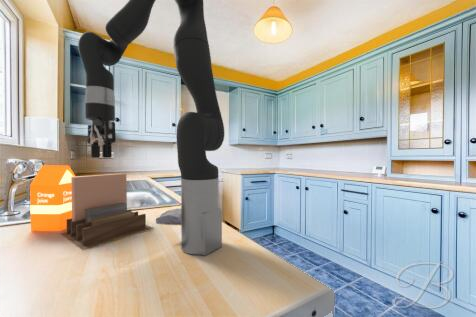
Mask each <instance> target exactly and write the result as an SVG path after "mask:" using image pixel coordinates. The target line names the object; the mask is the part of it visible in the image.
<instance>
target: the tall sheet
mask: <svg viewBox="0 0 476 317" xmlns="http://www.w3.org/2000/svg"><path fill="white" fill-rule="evenodd" d="M75 176H76V175H75ZM127 187H128V186H127V173H123V172H122V173H109V174H93V175H80V176H79V175H78V176H76V177H71V190H72V222H73V221H77V220H82V219H85V209H89V208H94V207H100V206H105V205H111V204H117V203H126V204H127V203H128V202H127V201H128V199H127V193H128V192H127V190H128V189H127ZM127 205H128V204H127Z"/></svg>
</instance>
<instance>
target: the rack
mask: <svg viewBox="0 0 476 317" xmlns="http://www.w3.org/2000/svg"><path fill="white" fill-rule="evenodd" d="M127 211H131V212H132V209H127ZM133 212H134V216H133V217H129V218H125V219H120V220H116V221H112V222H108V223H104V224H100V225H95V226H91V222H88V223H85V219H82V220H77V221H73V222H72V218H71V219H66V227H67V228H66V231H63V232H60V233H59V234H60V235H62V236H64V238H66V239H67V240H68V241H70V243H72V244H74V245H75V246H76V247H78V248H79V249H80V250H82V251H85V250H88V249H92V248H95V247H99V246H102V245H106V244H108V243H112V242H114V241H118V240H120V239H121V240H122V239H124V238H127V237H131V236H134V235H137V234H140V233H144V232H146V231H150V230H153V229H155V227H153V226H149V225H147V224H146V223H147V220H146V218H147V217H146V213H142V214H139V211H133Z"/></svg>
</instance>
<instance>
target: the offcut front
mask: <svg viewBox="0 0 476 317" xmlns="http://www.w3.org/2000/svg"><path fill="white" fill-rule="evenodd" d="M134 212H135V211H132V210H131V211H126V212H122V213H117V214H112V215H108V216H103V217H98V218H94V219H91V226H95V225H100V224H104V223H108V222H112V221H116V220H120V219H125V218H129V217H133V216H134Z"/></svg>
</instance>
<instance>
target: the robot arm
mask: <svg viewBox="0 0 476 317" xmlns="http://www.w3.org/2000/svg"><path fill="white" fill-rule="evenodd" d="M155 2H156V0H128V1H127V2H126V4H125V5H124V6H123V7H121V9H120V10H118V11H117V12H116V14H114V15H113V16H112V17H111V18H110V19H109V20H107V22H106V23H105V24H104V25H105V26H104V29H105V32H106V34H107V35H108V37H109V38H110V40H107V39H105V38H104V37H102V36H100V35H99V34H97V33H94V32H92V31H86V32H83V33H81V35H80V37H79V38H78V42H77V45H78V46H77V48H78V52H79V56H80V60H81V62H82V65H83V69H84V72H85V92H84V93H85V94H84V103H85V104H84V105H85V106H84V107H85V108H84V109H85V110H84V115H85V117H84V118H85V119H86V120H89V121H92V124H88V125H87V144H89V146H90V155H91V156H90V157H91V158H93V159H94V158H95V159H96V158H100V157H101V154H102V158H104V159H107V158H109V159H110V158H112V156H113V155H112V146H113V145H114V143H116V141H117V140H116V123H115V122H114V121H115V120H116V100H115V92H114V90H115V88H114V87H115V85H114V82H115V80H114V75H113V73H112V72H111V71H109V70H108V69H107V68H106V67H111V66H115V65H117V64H118V63H119V62H120V60H121V58H122V57H123V55H124V53H125V52H126V50H127V48H128V46H129V45H130V44H131V43H132V42H134V40H136V39H137V38H138V37H139V36H140V35H141V34H143V33H144V31H145V30H146V28H147V26H148V23H149V20H150V17H151V16H150V15H151V12H152V9H153V7H154V4H155ZM174 2H175V4H176V6H177V10H178V15H179V16H178V17H179V26H178V28H177V30H175V33H174V37H173V42H172V43H173V52H174V53H173V54H174V60H175V66H176V70H177V72H178V74H179V77H180V78H181V80H182V82H183V84H184V86H185V87H186V89H187V90H188V92H189V94H190V96H191V97H192V99H193V102H194V104H195V105H194V106H195V109H196V111H195V112H194V111H188V112H185V113H183V114H182V115H181V116H180V118H179V119H178V123H177V126H176V149H177V151H176V152H177V163H178V169H179V171H180V198H181V199H180V202H181V203H180V205H181V206H180V209H181V224H180V225H181V226H180V227H181V228H180V232H181V250H182V252H183V253H186V254H190V255H202V256H207V255H208V254H210V253H212V252H214V251H216V250H217V249H219V248H222V246H223V233H222V232H223V221H222V220H223V215H222V214H223V209H222V208H220V205H219V202H220V201H219V196H220V193H219V188H220V187H219V186H220V185H219V183H220V182H219V180H220V178H219V176H220V175H219V167H218V166H217V165H215V164H214V163H211V162H210V161H209V159H208V158H207V152H214V151H217V150H219V149H220V148H221V146H222V145H223V143H224V141H225V140H224V139H225V125H224V121H223V118H222V112H221V110H220V105H219V102H218V96H217V90H216V86H215V81H214V80H215V79H214V75H213V74H214V73H213V67H212V58H211V50H210V45H209V44H210V43H209V39H208V33H207V26H206V20H205V12H204V0H174ZM105 66H106V67H105ZM101 147H102V148H101ZM101 149H102V151H101ZM101 152H102V153H101Z"/></svg>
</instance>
